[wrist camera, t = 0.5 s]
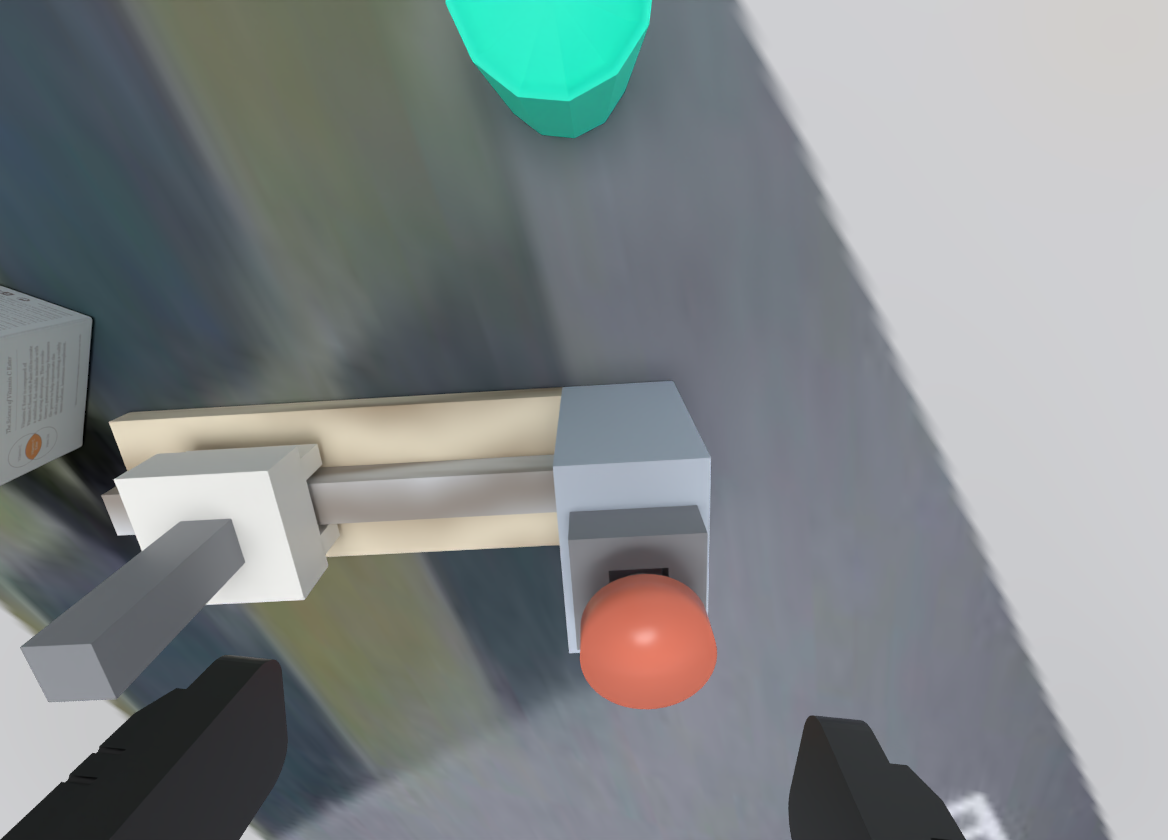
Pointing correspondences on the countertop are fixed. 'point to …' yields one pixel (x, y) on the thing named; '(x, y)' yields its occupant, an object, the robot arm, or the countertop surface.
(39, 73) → the countertop surface
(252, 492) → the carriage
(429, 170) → the countertop surface
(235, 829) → the robot arm
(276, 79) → the countertop surface
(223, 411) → the rail
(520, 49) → the candle
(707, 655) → the button
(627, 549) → the push button housing
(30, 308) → the small box
